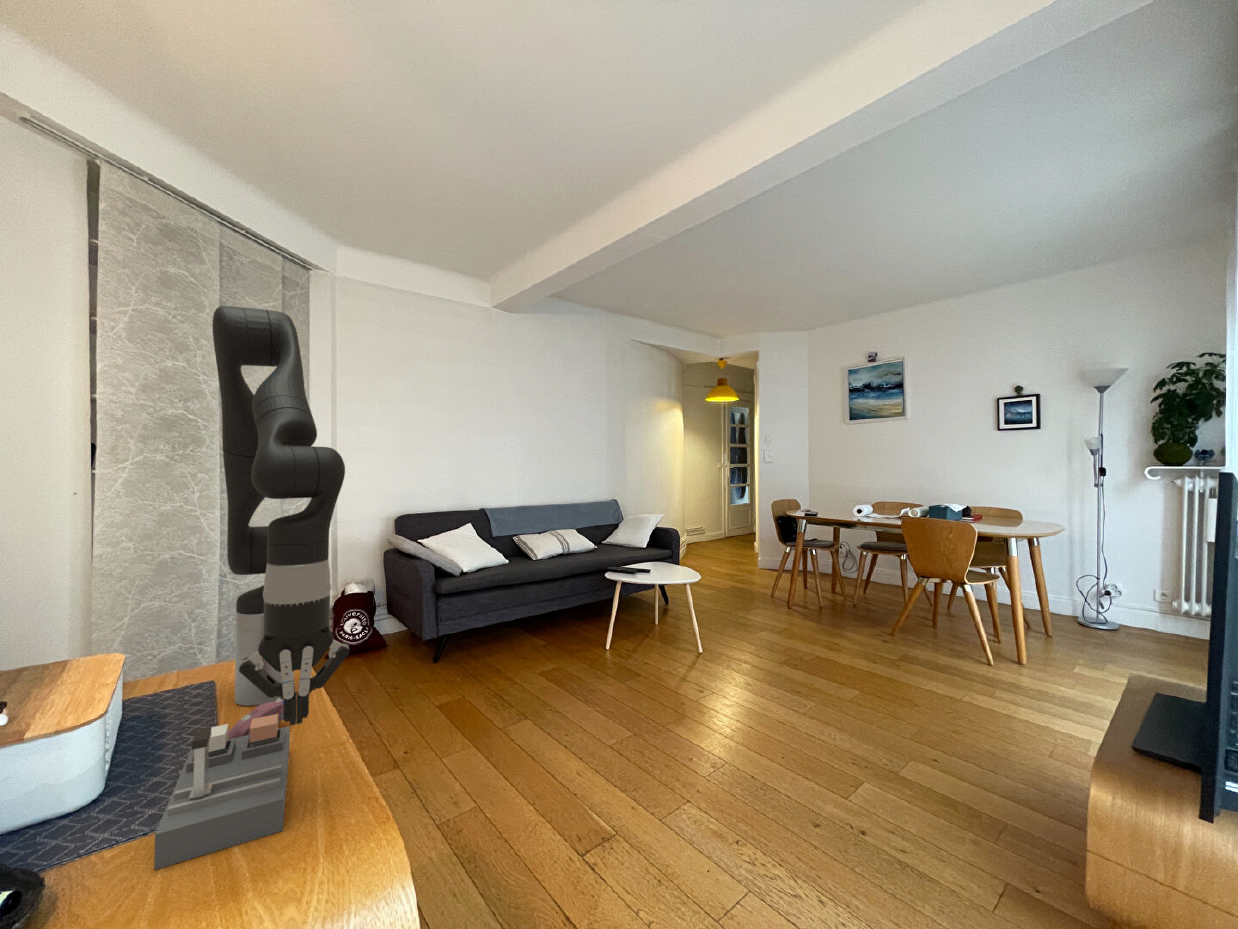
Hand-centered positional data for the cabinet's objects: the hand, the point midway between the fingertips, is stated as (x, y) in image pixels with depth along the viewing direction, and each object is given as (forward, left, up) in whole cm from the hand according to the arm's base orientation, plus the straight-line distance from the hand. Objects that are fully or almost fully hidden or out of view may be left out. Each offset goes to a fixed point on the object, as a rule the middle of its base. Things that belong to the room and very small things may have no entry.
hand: (295, 721), depth 67 cm
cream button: (-10, -10, -5) cm, 15 cm away
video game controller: (-22, -6, -11) cm, 26 cm away
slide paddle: (0, -10, -7) cm, 12 cm away
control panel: (-5, -7, -11) cm, 14 cm away
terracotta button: (-10, -4, -5) cm, 12 cm away
